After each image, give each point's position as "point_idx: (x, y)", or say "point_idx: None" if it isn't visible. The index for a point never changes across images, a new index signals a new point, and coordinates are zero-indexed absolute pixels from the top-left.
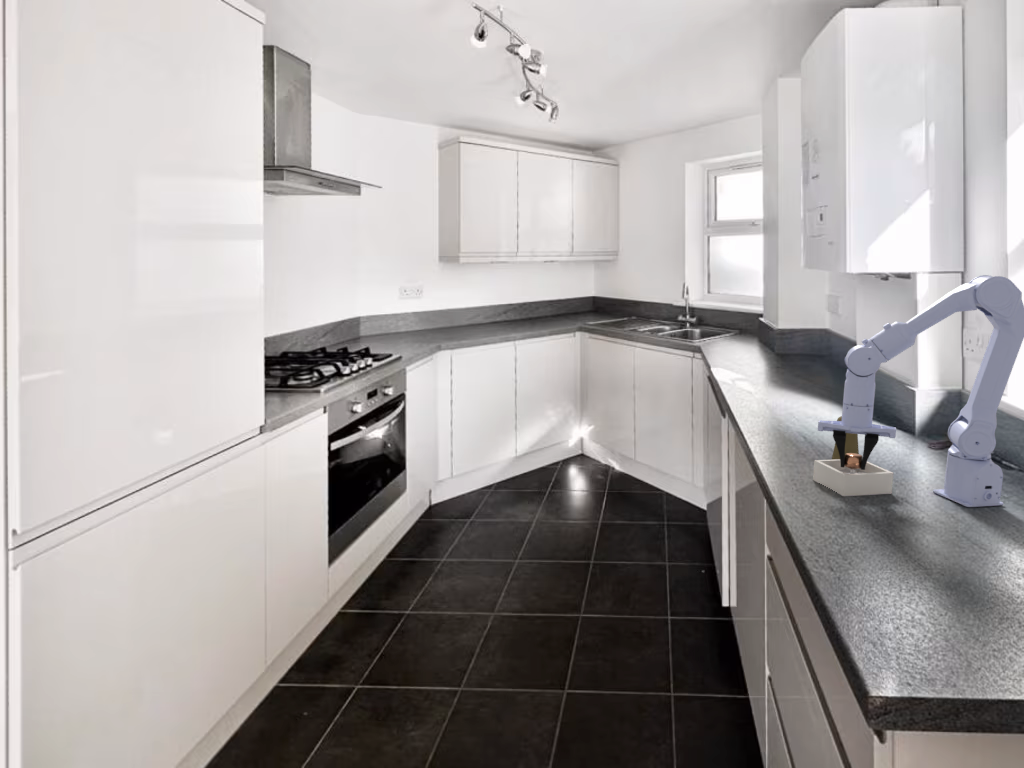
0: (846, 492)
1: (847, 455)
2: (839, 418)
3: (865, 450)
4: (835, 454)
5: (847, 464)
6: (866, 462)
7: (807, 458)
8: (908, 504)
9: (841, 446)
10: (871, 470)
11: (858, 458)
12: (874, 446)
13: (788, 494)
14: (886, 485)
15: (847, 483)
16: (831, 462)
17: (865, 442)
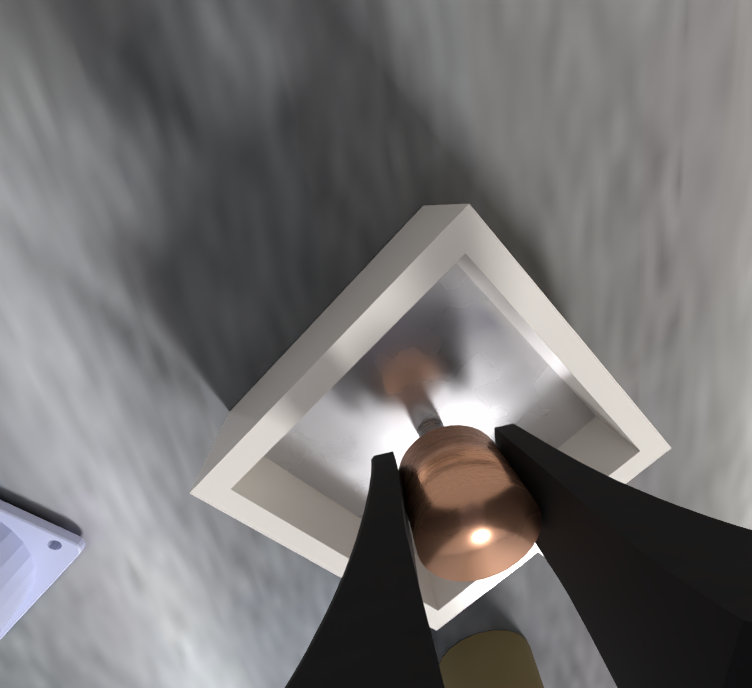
0: (414, 221)
1: (524, 500)
2: None
3: (399, 570)
4: (533, 676)
5: (486, 442)
6: (368, 491)
7: None
8: (92, 286)
9: (650, 524)
10: (351, 531)
11: (434, 495)
12: (306, 654)
13: (706, 32)
14: (240, 413)
15: (428, 222)
16: None
17: (429, 669)
